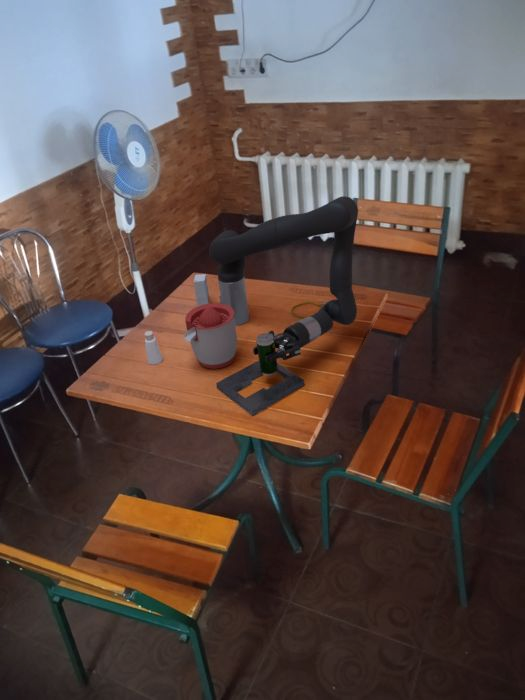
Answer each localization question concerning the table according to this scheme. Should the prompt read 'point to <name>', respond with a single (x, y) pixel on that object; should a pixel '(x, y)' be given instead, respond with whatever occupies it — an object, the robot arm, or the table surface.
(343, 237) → the robot arm
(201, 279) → the skincare box
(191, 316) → the citrus juicer
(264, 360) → the green drink can
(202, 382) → the table surface
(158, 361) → the pepper shaker
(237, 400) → the keyhole plate
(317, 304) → the extension cord
